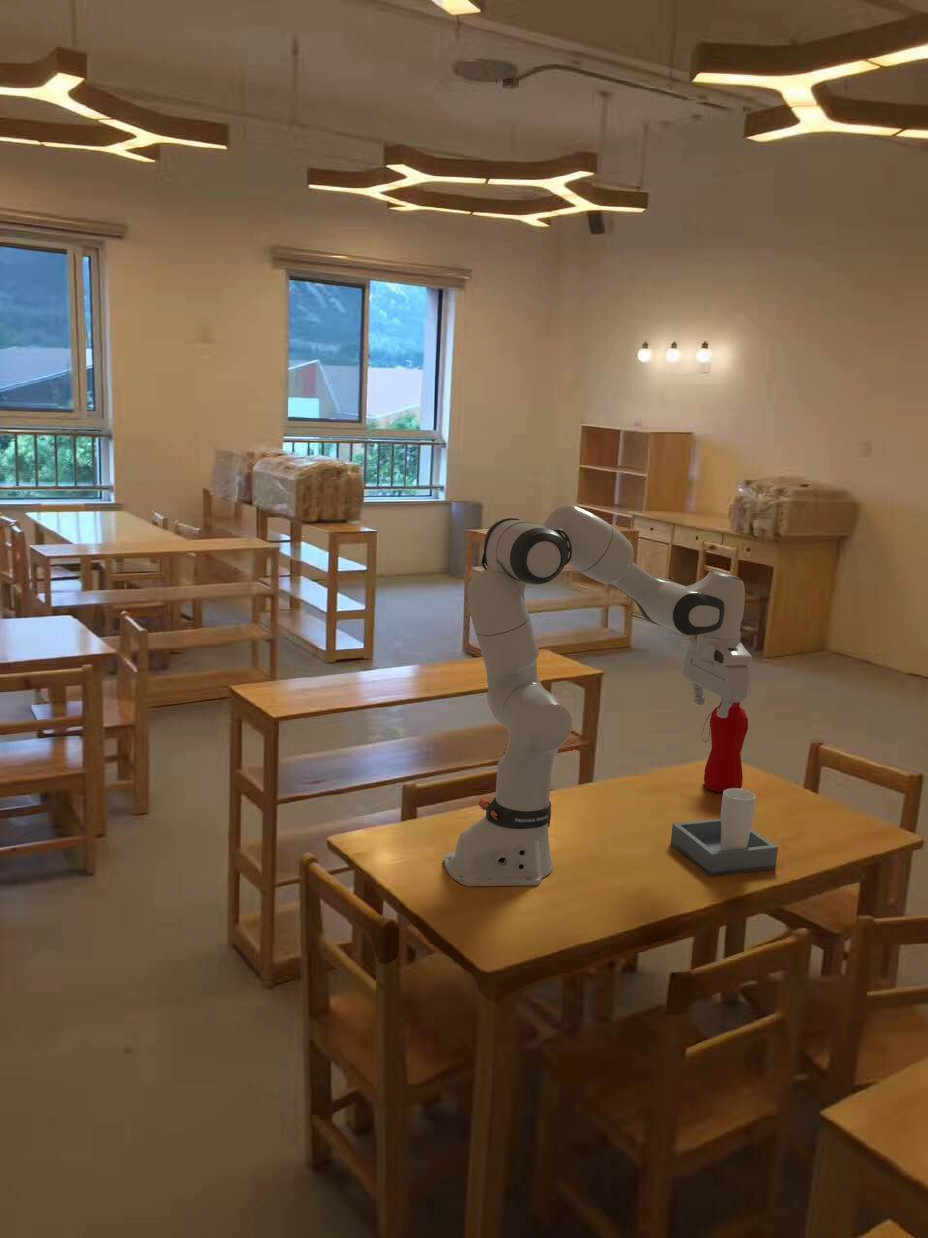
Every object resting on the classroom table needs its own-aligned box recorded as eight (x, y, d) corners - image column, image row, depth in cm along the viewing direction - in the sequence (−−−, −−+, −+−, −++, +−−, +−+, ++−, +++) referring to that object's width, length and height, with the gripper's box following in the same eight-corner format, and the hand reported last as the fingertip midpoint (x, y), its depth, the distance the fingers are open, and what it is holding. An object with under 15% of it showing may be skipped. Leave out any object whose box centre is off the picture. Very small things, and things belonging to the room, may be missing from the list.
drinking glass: (748, 869, 210) (755, 802, 207) (715, 864, 212) (722, 797, 209) (749, 856, 216) (756, 790, 213) (716, 851, 218) (723, 786, 215)
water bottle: (695, 779, 263) (705, 687, 258) (738, 783, 262) (749, 691, 257) (697, 792, 255) (707, 697, 249) (742, 796, 253) (753, 701, 248)
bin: (709, 877, 208) (712, 854, 207) (670, 844, 223) (672, 823, 222) (775, 869, 213) (778, 847, 212) (732, 837, 228) (735, 817, 227)
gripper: (679, 636, 222) (673, 697, 225) (730, 660, 203) (722, 725, 206) (705, 636, 224) (698, 696, 227) (757, 659, 205) (749, 724, 208)
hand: (710, 710), depth 216 cm, fingers open, 8 cm apart
